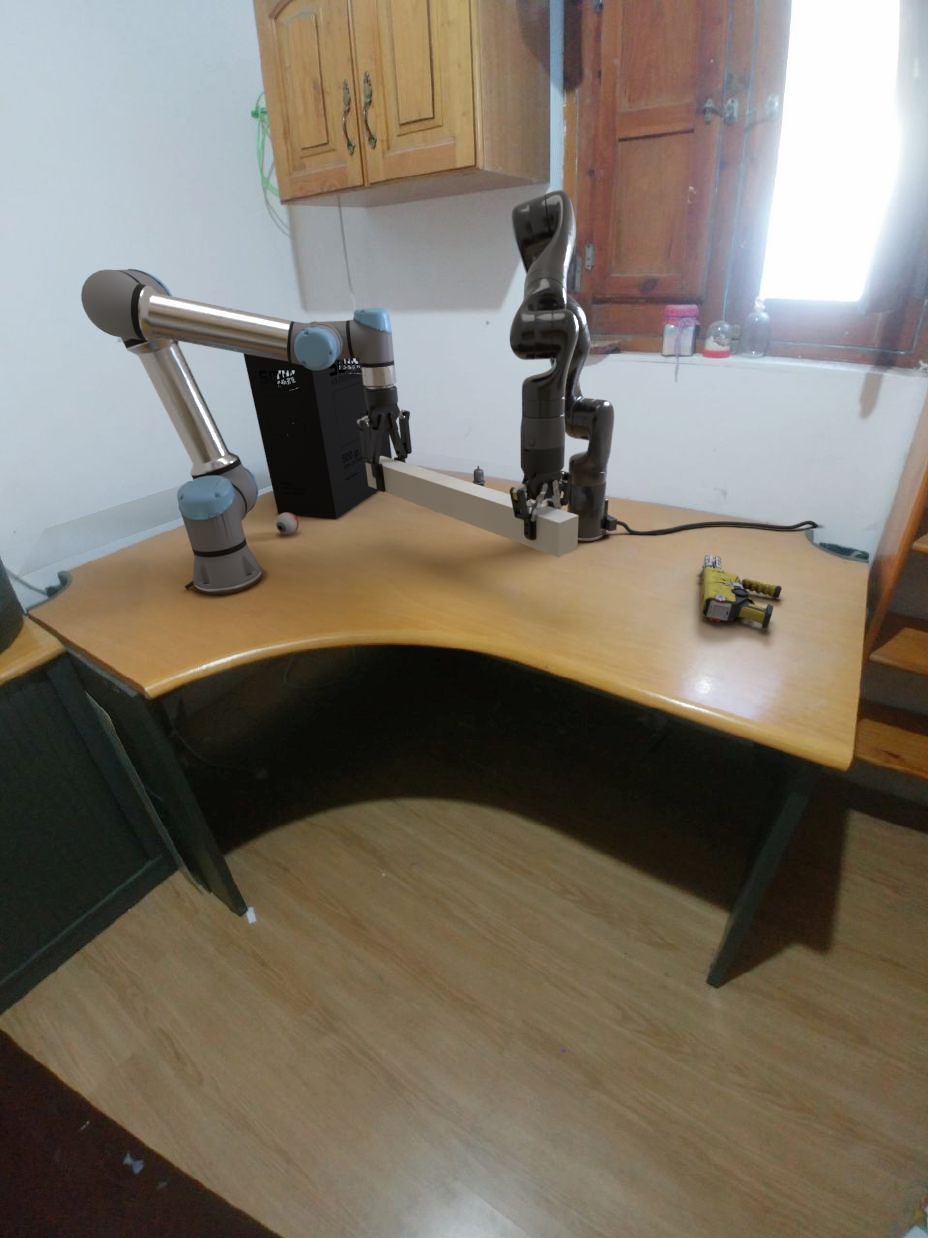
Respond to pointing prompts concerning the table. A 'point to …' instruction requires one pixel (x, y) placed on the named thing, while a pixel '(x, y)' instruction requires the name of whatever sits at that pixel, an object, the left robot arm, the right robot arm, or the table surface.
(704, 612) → the toy gun
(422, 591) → the table surface
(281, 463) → the cardboard box
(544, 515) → the bar
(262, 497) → the table surface
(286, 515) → the eyeball
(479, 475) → the salt shaker
